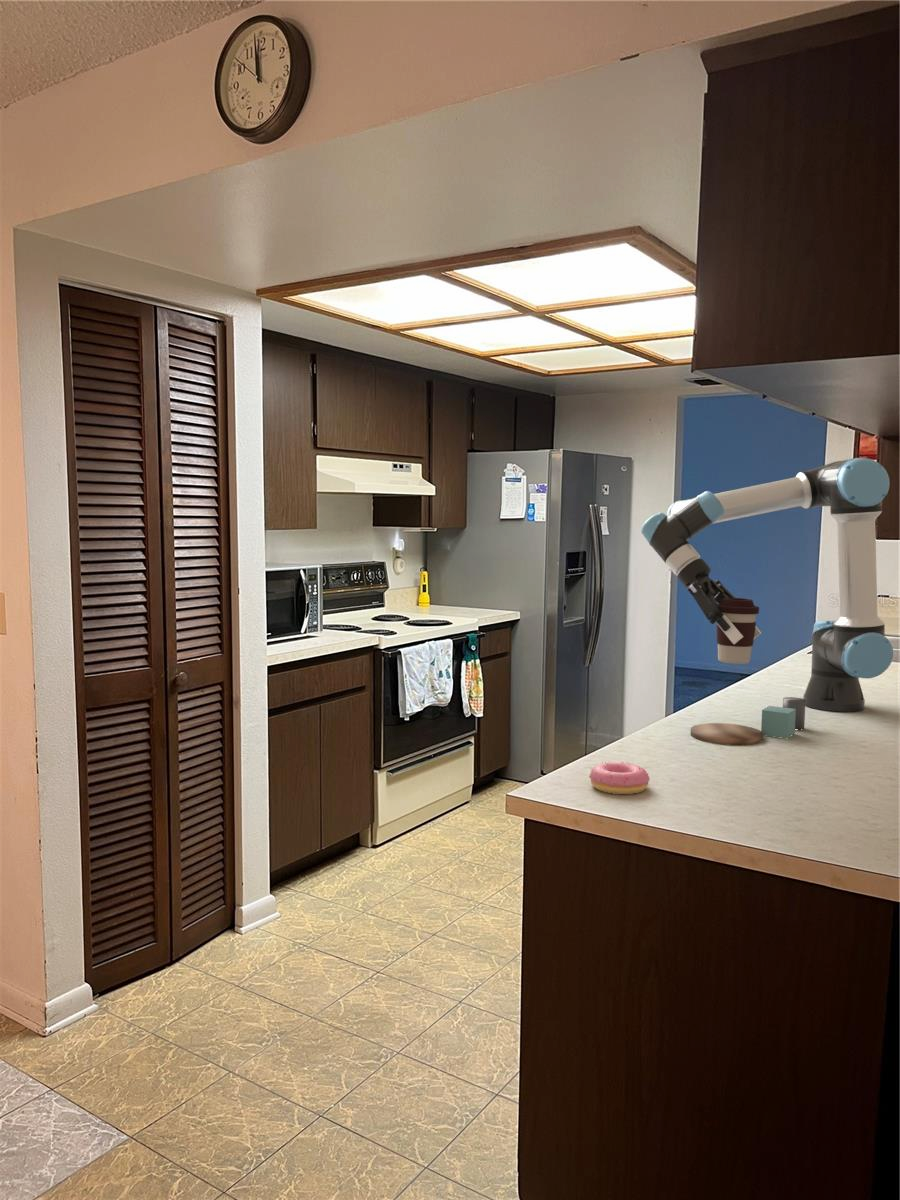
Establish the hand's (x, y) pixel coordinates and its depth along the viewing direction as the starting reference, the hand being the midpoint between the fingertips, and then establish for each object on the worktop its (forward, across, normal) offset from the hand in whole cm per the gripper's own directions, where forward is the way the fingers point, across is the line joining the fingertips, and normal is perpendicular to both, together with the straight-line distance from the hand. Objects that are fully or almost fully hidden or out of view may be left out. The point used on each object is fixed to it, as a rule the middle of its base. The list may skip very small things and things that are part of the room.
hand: (747, 638), depth 212 cm
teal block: (+21, -1, -10) cm, 23 cm away
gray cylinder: (+21, -10, -10) cm, 25 cm away
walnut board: (+15, +9, -16) cm, 24 cm away
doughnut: (+17, +60, -15) cm, 64 cm away
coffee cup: (+2, 0, -7) cm, 7 cm away
